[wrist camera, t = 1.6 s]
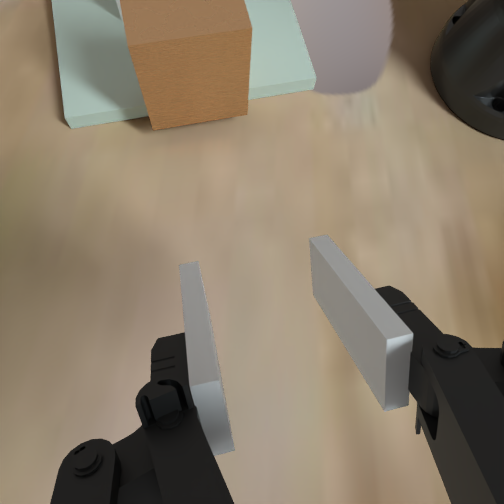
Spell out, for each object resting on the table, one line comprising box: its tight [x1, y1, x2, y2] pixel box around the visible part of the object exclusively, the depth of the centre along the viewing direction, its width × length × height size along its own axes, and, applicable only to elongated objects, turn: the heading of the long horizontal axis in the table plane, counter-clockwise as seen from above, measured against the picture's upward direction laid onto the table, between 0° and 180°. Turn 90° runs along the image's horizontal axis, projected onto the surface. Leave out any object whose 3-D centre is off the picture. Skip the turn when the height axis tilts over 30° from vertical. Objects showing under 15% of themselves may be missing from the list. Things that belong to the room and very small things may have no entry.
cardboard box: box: [120, 0, 252, 130], centre depth 33 cm, size 8×13×9 cm, turn 13°
